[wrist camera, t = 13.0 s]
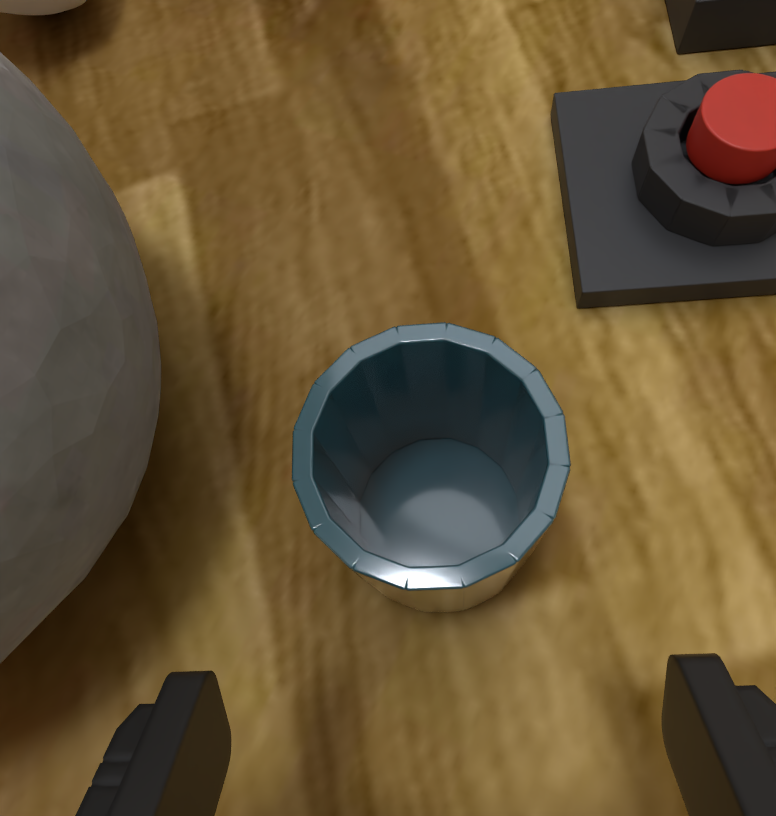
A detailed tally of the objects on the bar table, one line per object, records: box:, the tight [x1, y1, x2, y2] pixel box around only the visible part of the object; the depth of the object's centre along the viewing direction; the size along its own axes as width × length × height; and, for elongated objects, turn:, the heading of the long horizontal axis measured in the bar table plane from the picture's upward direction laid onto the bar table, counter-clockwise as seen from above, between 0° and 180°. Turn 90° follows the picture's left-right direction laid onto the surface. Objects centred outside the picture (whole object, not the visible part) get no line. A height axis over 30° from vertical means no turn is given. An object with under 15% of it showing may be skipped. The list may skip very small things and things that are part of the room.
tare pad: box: [551, 70, 776, 308], centre depth 25 cm, size 11×9×3 cm
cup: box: [292, 322, 571, 613], centre depth 19 cm, size 6×6×8 cm
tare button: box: [686, 73, 776, 185], centre depth 23 cm, size 3×3×2 cm
